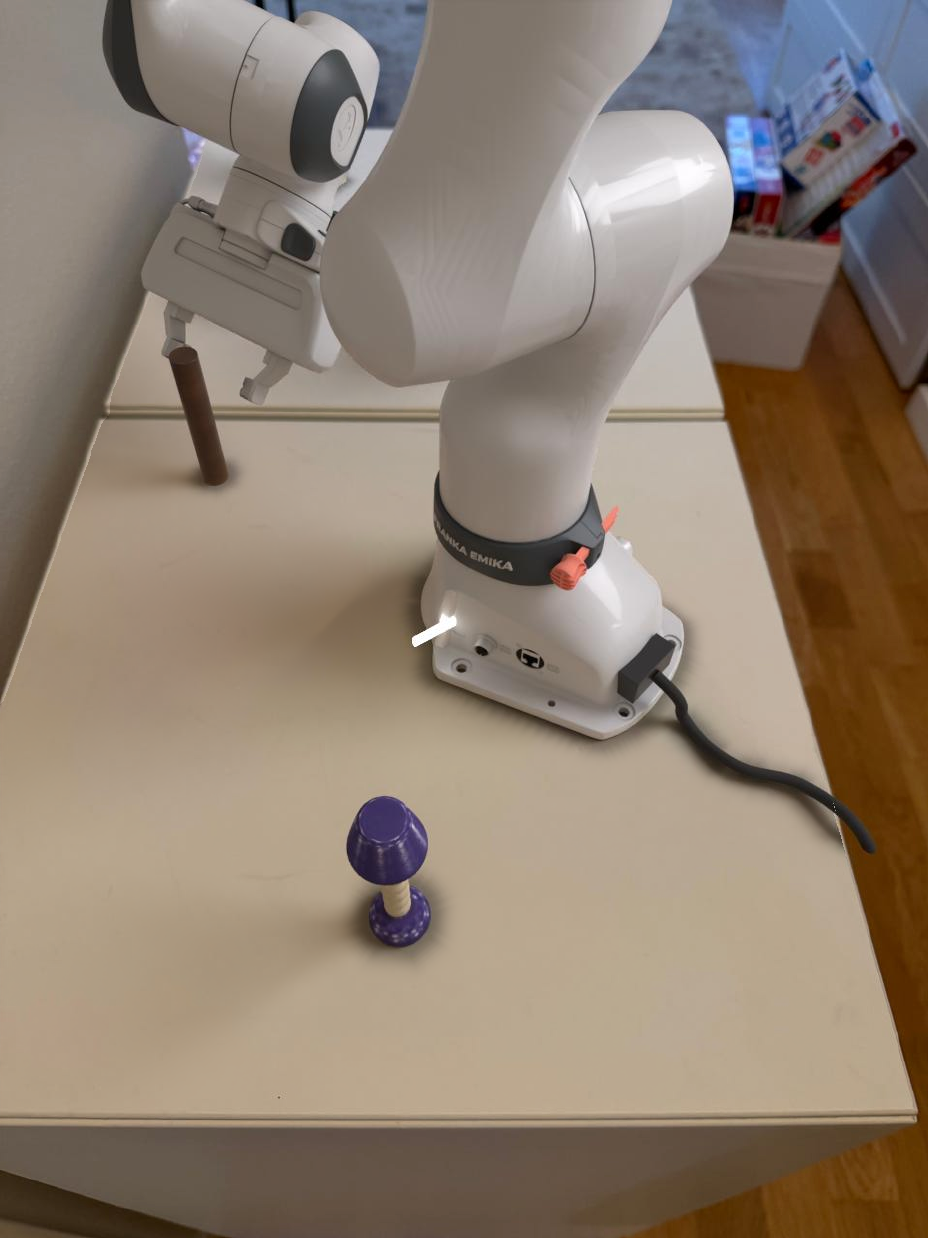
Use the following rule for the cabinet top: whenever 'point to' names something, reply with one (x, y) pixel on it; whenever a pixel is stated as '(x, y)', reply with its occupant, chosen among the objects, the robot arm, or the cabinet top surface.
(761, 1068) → the cabinet top surface
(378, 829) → the toy lamp
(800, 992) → the cabinet top surface
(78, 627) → the cabinet top surface
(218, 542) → the cabinet top surface
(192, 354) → the stirring stick
